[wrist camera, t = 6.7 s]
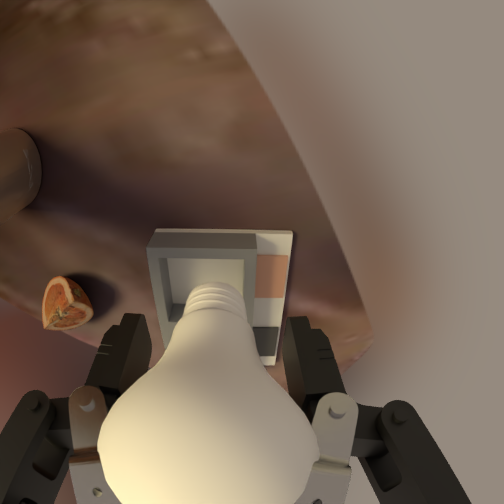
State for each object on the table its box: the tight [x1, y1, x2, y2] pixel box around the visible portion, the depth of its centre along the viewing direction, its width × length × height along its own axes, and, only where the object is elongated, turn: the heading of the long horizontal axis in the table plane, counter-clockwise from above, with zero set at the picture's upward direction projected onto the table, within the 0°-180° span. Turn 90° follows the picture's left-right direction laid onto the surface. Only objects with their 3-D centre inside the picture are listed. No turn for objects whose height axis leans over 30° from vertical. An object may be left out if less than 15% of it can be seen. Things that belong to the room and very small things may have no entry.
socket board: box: [146, 229, 293, 365], centre depth 31 cm, size 13×19×4 cm
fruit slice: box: [42, 276, 94, 330], centre depth 29 cm, size 8×7×5 cm
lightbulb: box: [97, 282, 320, 504], centre depth 8 cm, size 6×6×11 cm
